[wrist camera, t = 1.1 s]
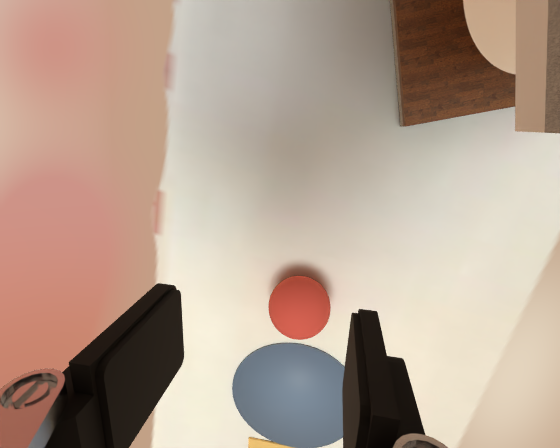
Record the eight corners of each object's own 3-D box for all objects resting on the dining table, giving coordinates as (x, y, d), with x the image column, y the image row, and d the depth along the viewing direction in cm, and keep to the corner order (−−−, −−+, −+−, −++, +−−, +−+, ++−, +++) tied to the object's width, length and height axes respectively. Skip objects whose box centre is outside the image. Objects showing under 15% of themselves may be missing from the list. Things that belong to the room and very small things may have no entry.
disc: (232, 334, 35) (232, 335, 34) (368, 354, 33) (368, 355, 32) (232, 433, 39) (232, 435, 39) (352, 457, 37) (352, 458, 37)
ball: (275, 263, 31) (263, 290, 26) (333, 269, 30) (332, 299, 25) (273, 312, 33) (261, 348, 28) (328, 320, 32) (326, 357, 27)
